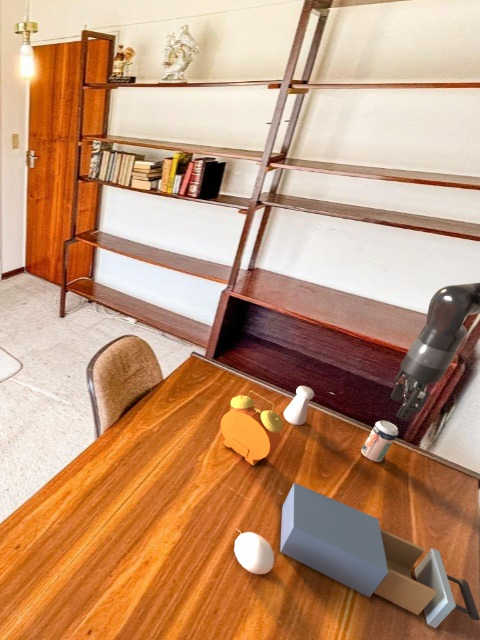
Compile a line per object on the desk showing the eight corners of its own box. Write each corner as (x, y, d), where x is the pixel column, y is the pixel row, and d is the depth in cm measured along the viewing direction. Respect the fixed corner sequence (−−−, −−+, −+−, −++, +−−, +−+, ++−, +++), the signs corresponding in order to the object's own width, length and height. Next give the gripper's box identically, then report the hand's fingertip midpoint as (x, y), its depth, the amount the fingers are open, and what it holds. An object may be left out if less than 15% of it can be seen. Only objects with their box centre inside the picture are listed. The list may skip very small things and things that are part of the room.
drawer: (451, 587, 81) (471, 565, 78) (469, 646, 72) (493, 623, 69) (337, 534, 90) (351, 512, 87) (341, 581, 81) (356, 558, 78)
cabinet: (360, 546, 89) (378, 519, 85) (367, 600, 79) (388, 572, 75) (281, 509, 96) (294, 482, 92) (278, 554, 87) (293, 526, 82)
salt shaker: (286, 427, 121) (300, 394, 115) (278, 413, 126) (291, 381, 120) (306, 430, 120) (322, 397, 114) (298, 416, 125) (312, 384, 119)
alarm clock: (270, 463, 108) (295, 408, 100) (259, 473, 105) (283, 417, 97) (225, 431, 118) (244, 378, 110) (213, 440, 115) (231, 386, 106)
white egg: (276, 579, 82) (288, 558, 79) (244, 584, 81) (254, 563, 78) (246, 531, 91) (255, 511, 88) (216, 535, 90) (224, 514, 87)
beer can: (360, 447, 114) (378, 416, 109) (381, 457, 111) (400, 426, 106) (358, 456, 111) (375, 425, 106) (379, 467, 108) (398, 435, 103)
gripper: (457, 380, 89) (423, 432, 96) (440, 349, 100) (410, 398, 107) (414, 367, 93) (384, 419, 100) (402, 340, 104) (376, 387, 111)
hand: (398, 408), depth 104 cm, fingers open, 8 cm apart
